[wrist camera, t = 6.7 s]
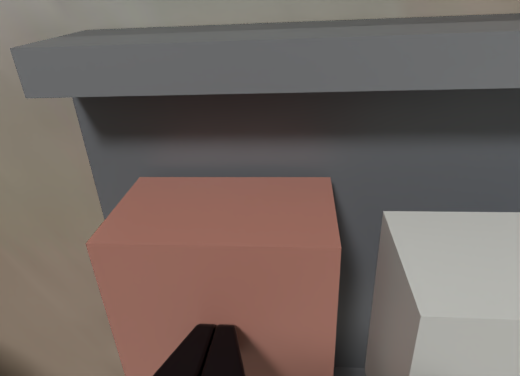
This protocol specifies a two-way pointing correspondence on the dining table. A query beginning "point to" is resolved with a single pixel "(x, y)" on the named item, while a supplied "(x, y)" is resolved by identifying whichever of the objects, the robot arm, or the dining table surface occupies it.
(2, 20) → the dining table surface
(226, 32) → the panel
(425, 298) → the off-white square block
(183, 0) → the dining table surface
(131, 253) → the key red
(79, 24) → the dining table surface
